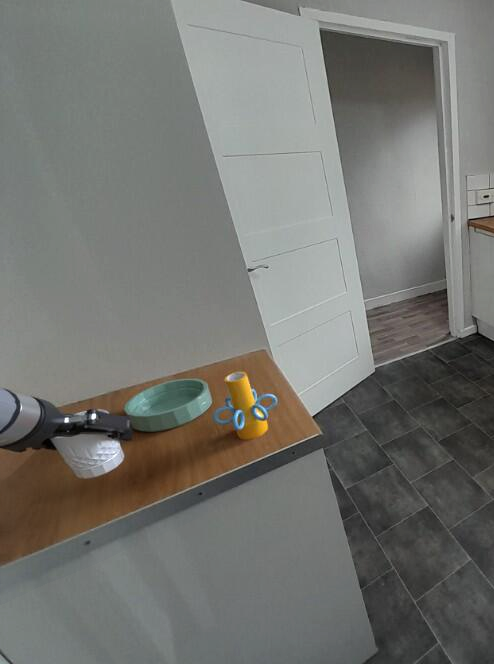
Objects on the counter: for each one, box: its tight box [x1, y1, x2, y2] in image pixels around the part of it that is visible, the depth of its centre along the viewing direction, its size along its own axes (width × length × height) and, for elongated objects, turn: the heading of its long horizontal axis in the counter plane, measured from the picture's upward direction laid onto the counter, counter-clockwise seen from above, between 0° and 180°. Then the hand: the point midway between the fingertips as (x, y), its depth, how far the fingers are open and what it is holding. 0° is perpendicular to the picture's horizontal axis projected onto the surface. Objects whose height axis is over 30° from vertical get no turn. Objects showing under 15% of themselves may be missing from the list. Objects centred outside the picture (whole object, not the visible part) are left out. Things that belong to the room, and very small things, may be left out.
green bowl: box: [123, 378, 213, 433], centre depth 98 cm, size 16×16×5 cm
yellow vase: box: [212, 371, 278, 441], centre depth 90 cm, size 12×10×15 cm
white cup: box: [50, 408, 125, 479], centre depth 75 cm, size 8×8×10 cm
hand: (101, 439), depth 78 cm, fingers closed on white cup, 8 cm apart
